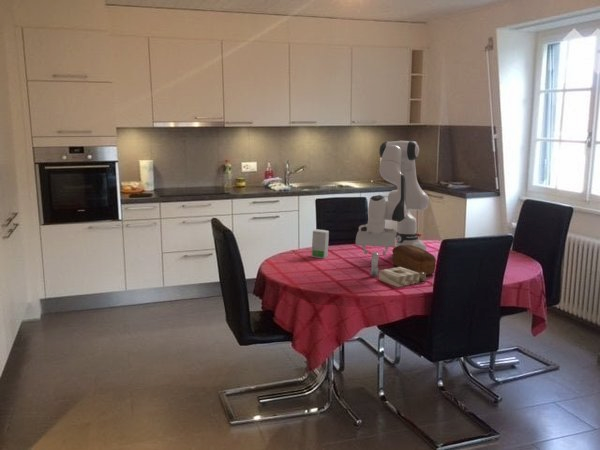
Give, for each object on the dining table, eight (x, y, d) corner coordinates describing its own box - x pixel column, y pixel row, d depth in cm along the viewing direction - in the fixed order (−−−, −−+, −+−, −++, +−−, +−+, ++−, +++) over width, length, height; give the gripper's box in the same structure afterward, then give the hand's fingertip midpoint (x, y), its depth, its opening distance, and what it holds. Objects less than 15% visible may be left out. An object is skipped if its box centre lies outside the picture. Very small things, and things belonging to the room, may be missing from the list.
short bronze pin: (421, 280, 292) (422, 271, 291) (427, 281, 289) (427, 273, 288) (416, 281, 290) (417, 272, 289) (421, 283, 287) (422, 274, 286)
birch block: (399, 276, 299) (400, 266, 298) (418, 282, 287) (419, 273, 286) (378, 280, 291) (379, 270, 290) (397, 287, 280) (398, 277, 279)
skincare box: (311, 257, 336) (311, 230, 333) (315, 254, 342) (315, 228, 339) (324, 258, 333) (325, 232, 330) (328, 256, 339) (329, 230, 336)
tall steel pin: (374, 274, 301) (375, 252, 299) (379, 276, 298) (380, 253, 296) (369, 275, 299) (370, 253, 297) (374, 277, 296) (375, 254, 294)
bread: (409, 262, 327) (411, 241, 325) (438, 275, 301) (440, 252, 299) (388, 264, 322) (389, 243, 320) (415, 278, 296) (417, 254, 294)
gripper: (397, 228, 295) (395, 254, 297) (357, 225, 299) (356, 251, 301) (396, 230, 289) (395, 257, 291) (355, 227, 293) (354, 254, 295)
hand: (374, 254), depth 296 cm, fingers open, 8 cm apart
